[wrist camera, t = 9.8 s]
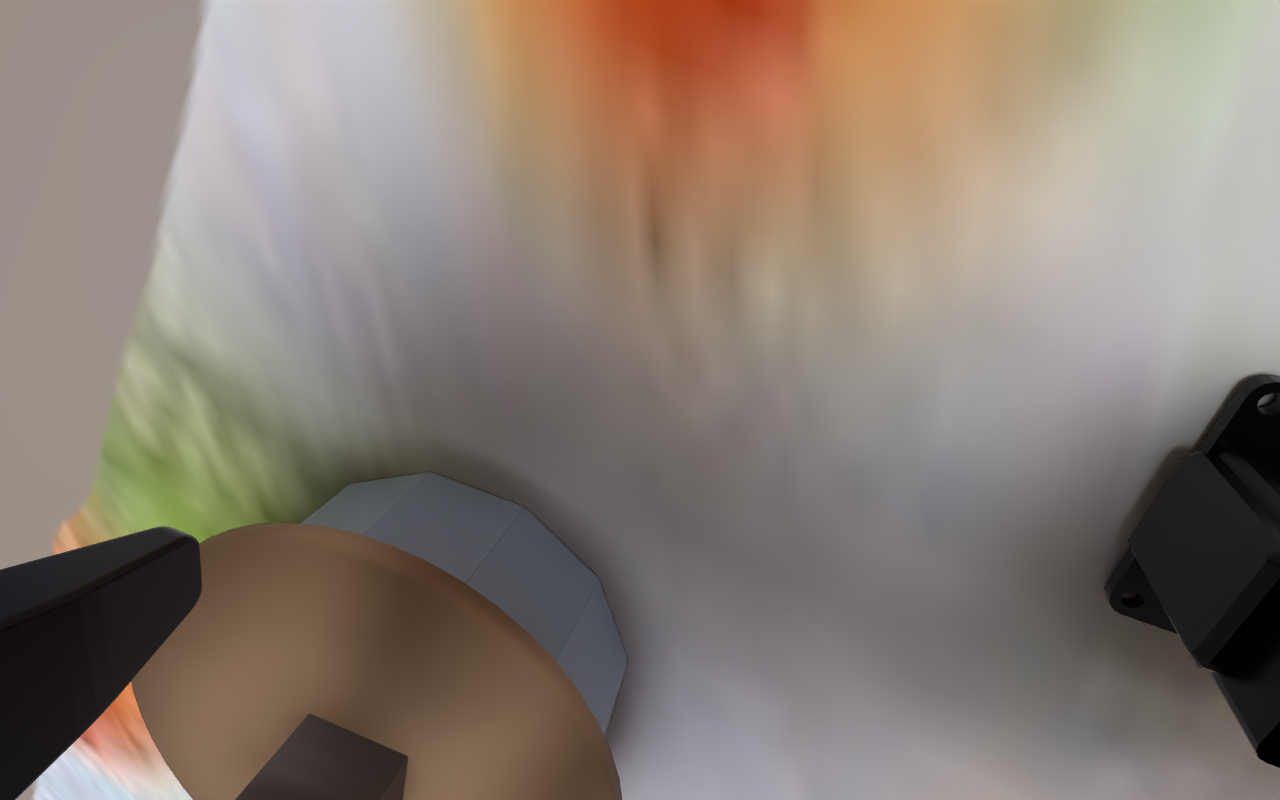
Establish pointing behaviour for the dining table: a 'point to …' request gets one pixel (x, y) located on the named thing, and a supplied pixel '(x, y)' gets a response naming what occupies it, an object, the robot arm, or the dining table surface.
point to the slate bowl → (496, 568)
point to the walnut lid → (360, 682)
